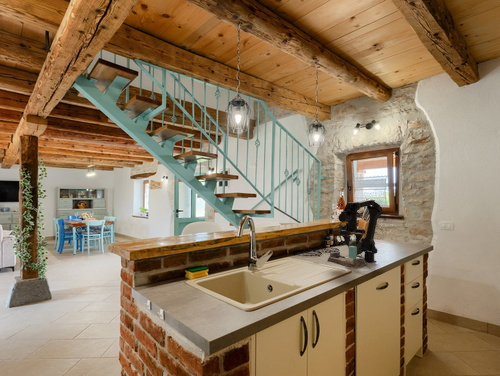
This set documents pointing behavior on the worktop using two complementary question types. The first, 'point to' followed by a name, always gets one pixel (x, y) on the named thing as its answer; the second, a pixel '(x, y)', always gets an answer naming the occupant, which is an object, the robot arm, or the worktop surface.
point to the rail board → (341, 260)
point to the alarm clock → (353, 243)
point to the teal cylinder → (352, 254)
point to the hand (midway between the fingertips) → (352, 245)
